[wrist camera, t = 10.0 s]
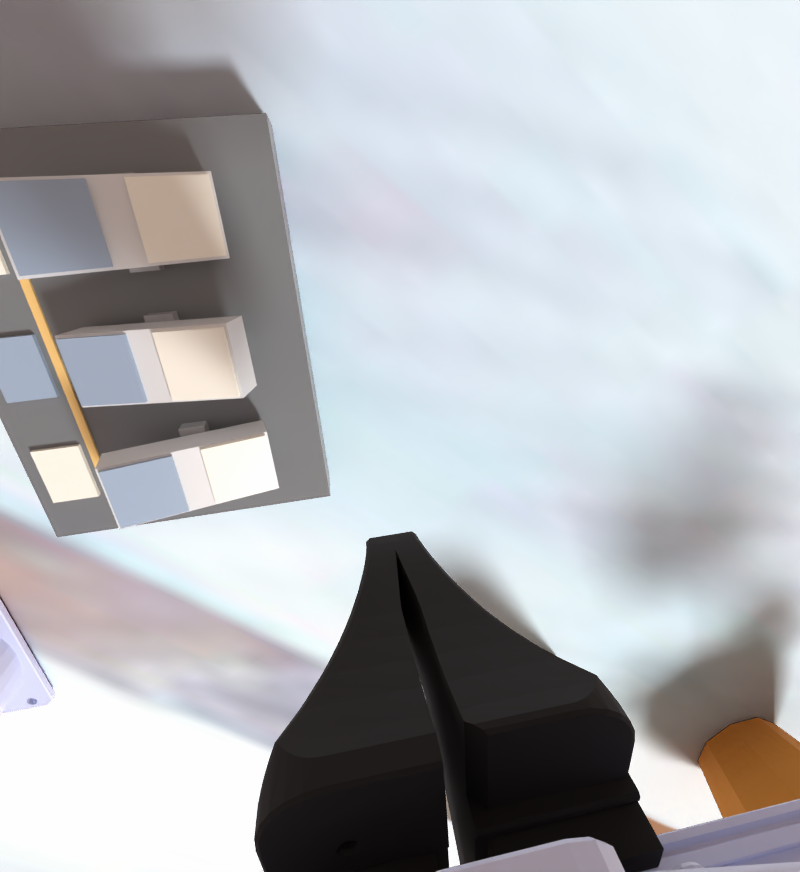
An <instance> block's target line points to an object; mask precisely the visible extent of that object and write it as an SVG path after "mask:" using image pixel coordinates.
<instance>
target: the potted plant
mask: <svg viewBox="0 0 800 872" xmlns="http://www.w3.org/2000/svg"><path fill="white" fill-rule="evenodd" d="M698 762H699V765H700V767H701V769H702V771H703V774H704V776H705V778H706V781H707V783H708V785H709V787H710V790H711V792H712V794H713V796H714V799H715V801H716V803H717V806H718V808H719V810H720V812H721V815H722V817H723V818H726V817H730V816H734V815H738V814H742V813H746V812H750V811H753V810H757V809H761V808H765V807H769V806H773V805H777V804H781V803H785V802H789V801H793V800H797V799H800V742H799V741H797V740H796V739H795V738H793V737H792V736H790V735H789V734H788V733H786V732H785V731H784V730H782V729H781V728H780V727H778V726H777V725H775V724H774V723H771V722H769V721H766V720H763V719H760V718H758V717H757V718H753V719H749V720H746V721H742V722H739V723H735V724H731V725H729V726H728V727H726V728H725V729H724V730H722V731H721V732H720V733H718V734H717V735H716V736H714V737H713V738H712V739H710V740H709V741H708V742H706V744H705V746H704V749H703V751H702V753H701V755H700V757H699V760H698Z"/></svg>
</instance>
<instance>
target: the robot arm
mask: <svg viewBox="0 0 800 872" xmlns="http://www.w3.org/2000/svg"><path fill="white" fill-rule="evenodd" d="M366 546H367V549H366V560H365V565H364V571H363V575H362V579H361V583H360V587H359V590H358V594H357V597H356V600H355V603H354V606H353V609H352V612H351V614H350V617H349V620H348V622H347V625H346V627H345V629H344V632H343V634H342V636H341V638H340V641H339V643H338V645H337V647H336V649H335V651H334V653H333V655H332V657H331V659H330V661H329V663H328V665H327V666H326V668H325V670H324V672H323V674H322V675H321V677H320V679H319V680H318V682H317V683H316V685H315V687H314V688H313V690H312V691H311V693H310V694H309V696H308V698H307V699H306V701H305V702H304V704H303V705H302V707H301V708H300V710H299V711H298V713H297V714H296V715H295V717H294V718H293V719H292V721H291V722H290V723H289V725H288V726H287V727H286V729H285V730H284V731H283V733H282V734H281V735H280V737H279V738H278V739H277V741H276V742H275V744H274V747H273V750H272V753H271V756H270V759H269V762H268V765H267V769H266V772H265V776H264V780H263V784H262V788H261V793H260V798H259V803H258V810H257V819H256V829H255V838H254V840H255V847H256V852H257V855H258V857H259V860H260V862H261V865H262V867H263V870H264V872H800V799H797V800H793V801H789V802H785V803H781V804H777V805H773V806H769V807H765V808H761V809H757V810H753V811H750V812H746V813H742V814H738V815H734V816H730V817H726V818H722V819H718V820H714V821H710V822H706V823H702V824H698V825H694V826H690V827H687V828H683V829H679V830H675V831H671V832H667V833H663V834H659V835H656V834H655V832H654V830H653V828H652V827H651V825H650V823H649V821H648V819H647V817H646V816H645V814H644V812H643V810H642V808H641V807H640V805H639V803H638V801H639V799H640V794H639V791H638V789H637V787H636V786H635V784H634V782H633V780H632V779H631V777H630V775H629V773H628V770H629V766H630V761H631V756H632V752H633V747H634V742H635V730H634V728H633V726H632V724H631V721H630V720H629V718H628V717H627V715H626V713H625V712H624V710H623V709H622V707H621V706H620V704H619V703H618V701H617V700H616V699H615V698H614V696H613V695H612V694H611V692H610V691H609V690H608V689H607V688H606V686H605V685H604V684H603V683H602V681H601V680H600V679H599V678H598V676H597V675H595V674H593V673H591V672H588V671H586V670H584V669H582V668H580V667H578V666H576V665H574V664H571V663H569V662H567V661H565V660H563V659H561V658H559V657H557V656H555V655H553V654H551V653H549V652H548V651H546V650H544V649H542V648H540V647H539V646H537V645H535V644H533V643H532V642H530V641H529V640H527V639H526V638H524V637H523V636H521V635H519V634H518V633H516V632H515V631H513V630H512V629H510V628H509V627H507V626H506V625H505V624H503V623H502V622H501V621H499V620H498V619H496V618H495V617H494V616H492V615H491V614H490V613H489V612H487V611H486V610H485V609H484V608H483V607H481V606H480V605H479V604H478V603H477V602H475V601H474V600H473V599H472V598H471V597H470V596H469V595H468V594H467V593H466V592H465V591H464V590H462V589H461V588H460V587H459V586H458V585H457V584H456V583H455V582H454V581H453V580H452V579H451V578H450V576H449V575H448V574H447V573H446V572H445V571H444V570H443V569H442V568H441V567H440V566H439V564H438V563H437V562H436V561H435V560H434V559H433V557H432V556H431V555H430V554H429V552H428V551H427V550H426V549H425V547H424V546H423V544H422V543H421V542H420V540H419V539H418V537H417V536H416V534H415V533H413V532H406V533H400V534H394V535H387V536H381V537H375V538H370V539H369V540H368V541H367V542H366ZM419 677H420V678H419ZM421 684H422V685H421ZM422 687H423V688H422ZM423 691H424V692H423ZM424 694H425V695H424ZM54 696H55V692H54V690H53V689H52V687H51V685H50V684H49V682H48V680H47V678H46V677H45V675H44V673H43V672H42V670H41V668H40V666H39V665H38V663H37V661H36V659H35V658H34V656H33V654H32V653H31V651H30V649H29V647H28V646H27V644H26V642H25V641H24V639H23V637H22V635H21V634H20V632H19V630H18V629H17V627H16V625H15V623H14V622H13V620H12V618H11V616H10V615H9V613H8V611H7V610H6V608H5V606H4V604H3V603H2V601H1V599H0V715H1V713H5V712H11V711H16V710H21V709H26V708H32V707H37V706H42V705H47V704H49V703H50V702H52V700H53V698H54ZM425 697H426V698H425ZM426 701H427V702H426ZM445 790H446V794H445ZM446 795H447V800H448V804H449V810H450V814H451V820H452V825H453V830H454V835H455V840H456V845H457V850H458V855H459V860H460V865H458V866H454V867H450V868H449V859H448V847H449V841H448V825H447V810H446Z"/></svg>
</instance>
